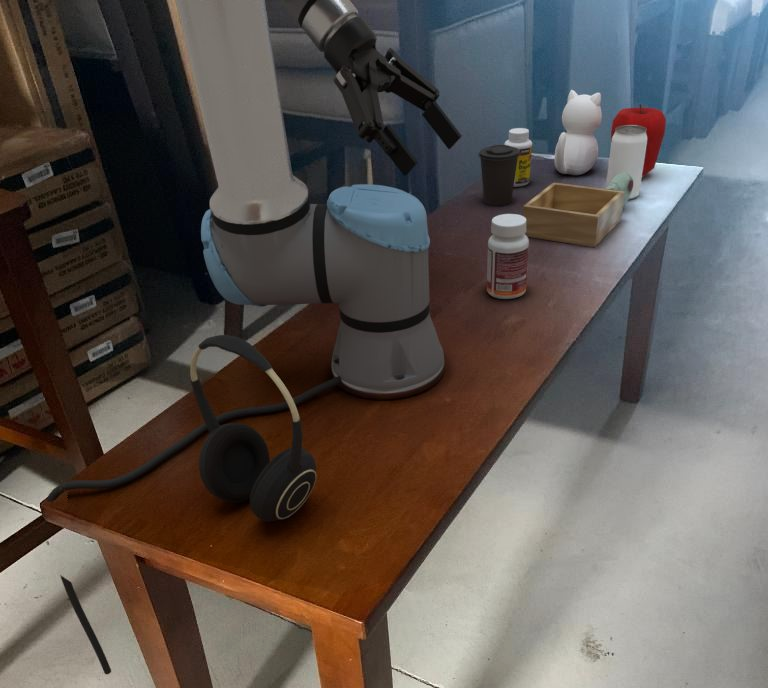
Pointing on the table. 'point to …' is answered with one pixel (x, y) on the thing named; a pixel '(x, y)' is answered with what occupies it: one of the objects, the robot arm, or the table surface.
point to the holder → (573, 214)
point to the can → (628, 155)
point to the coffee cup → (498, 173)
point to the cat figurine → (578, 134)
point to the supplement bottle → (522, 142)
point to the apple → (654, 132)
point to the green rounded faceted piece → (622, 184)
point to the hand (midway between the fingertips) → (434, 155)
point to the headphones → (252, 450)
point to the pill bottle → (507, 257)
